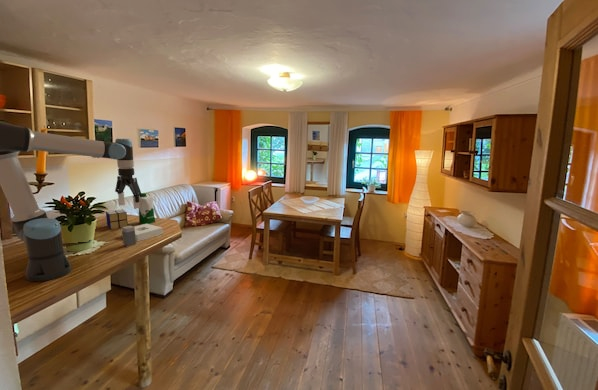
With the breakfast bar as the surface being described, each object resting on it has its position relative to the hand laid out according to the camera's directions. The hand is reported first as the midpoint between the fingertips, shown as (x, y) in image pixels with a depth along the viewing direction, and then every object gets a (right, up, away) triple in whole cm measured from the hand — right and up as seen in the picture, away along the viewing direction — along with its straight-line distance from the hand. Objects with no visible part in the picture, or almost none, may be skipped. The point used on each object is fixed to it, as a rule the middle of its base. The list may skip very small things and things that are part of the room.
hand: (129, 206), depth 165 cm
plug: (0, -21, 0) cm, 21 cm away
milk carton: (-11, -13, +41) cm, 45 cm away
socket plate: (-1, -18, +16) cm, 24 cm away
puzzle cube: (-26, -14, +32) cm, 44 cm away
